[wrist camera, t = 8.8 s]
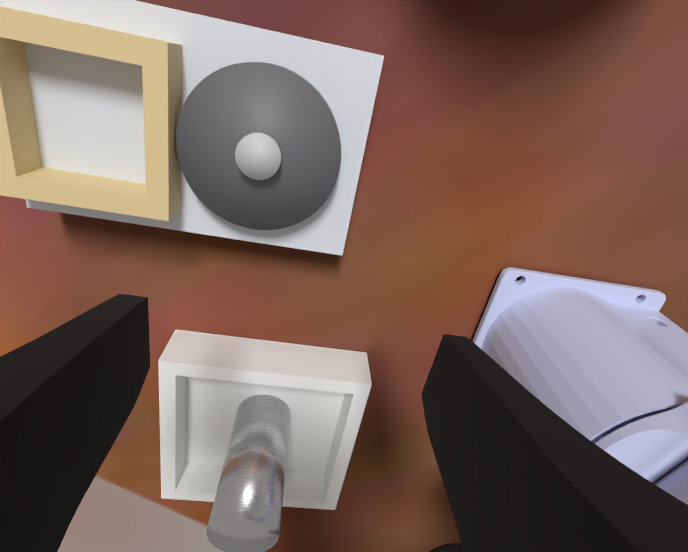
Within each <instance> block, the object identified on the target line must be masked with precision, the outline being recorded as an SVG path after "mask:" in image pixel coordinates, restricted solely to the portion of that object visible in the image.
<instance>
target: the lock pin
mask: <svg viewBox="0 0 688 552" xmlns="http://www.w3.org/2000/svg"><path fill="white" fill-rule="evenodd" d="M290 419H291V412H290V409H289V407H288V406H287V404H286V403H285V402H284V401H282V400H281V399H279V398H277V397H274V396H271V395H254V396H251V397H249V398H247V399H245V400H244V401H243V402H241V404H240V405H239V407H238V409H237V413H236V417H235V421H234V425H233V429H232V433H231V437H230V440H229V444H228V448H227V452H226V456H225V460H224V464H223V468H222V472H221V476H220V480H219V484H218V488H217V492H216V496H215V500H214V504H213V508H212V512H211V516H210V520H209V524H208V528H207V537H208V539H209V541H210V542H211V543H212V544H213V545H214V546H215V547H217V548H218V549H220V550H223V551H225V552H264V551H266V550H268V549H270V548H271V547H273V546H274V545H275V544H276V543H277V541H278V539H279V534H280V524H281V514H282V503H283V493H284V482H285V472H286V461H287V451H288V440H289V430H290Z"/></svg>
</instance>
